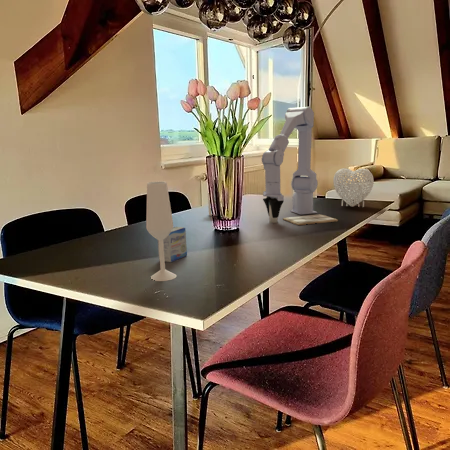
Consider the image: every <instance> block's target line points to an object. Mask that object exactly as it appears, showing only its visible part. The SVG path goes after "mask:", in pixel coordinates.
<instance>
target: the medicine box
mask: <svg viewBox="0 0 450 450" xmlns="http://www.w3.org/2000/svg"><path fill="white" fill-rule="evenodd" d="M186 232H187V231H186V227H183V226H173V229H172V231H171V233H170V234H169V235H168V236H167V237H166V238H165V239H163V244H164V259H165V262H166V263H172V262H176V261H177V260H180V259H183V258H184V257H186V256H188V250H187V249H188V248H187V233H186ZM157 251H158V261H160V254H159V240H157Z"/></svg>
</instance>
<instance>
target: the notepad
mask: <svg viewBox="0 0 450 450" xmlns="http://www.w3.org/2000/svg"><path fill="white" fill-rule="evenodd" d="M282 220H283V221H286V222H289V223H291V224H294V225H296V226H298V225H299V226H307V225H306V224H308V225H316V224H315V223H317V224H324V223H325V224H326V223H331V222H332V223H333V222H338V221H339V219H337V218H334V217H331V216H327V215H325V214H320V213H319V214H318V213H316V214H306V215H301V216H299V215H298V216H290V217H283V218H282Z"/></svg>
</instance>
